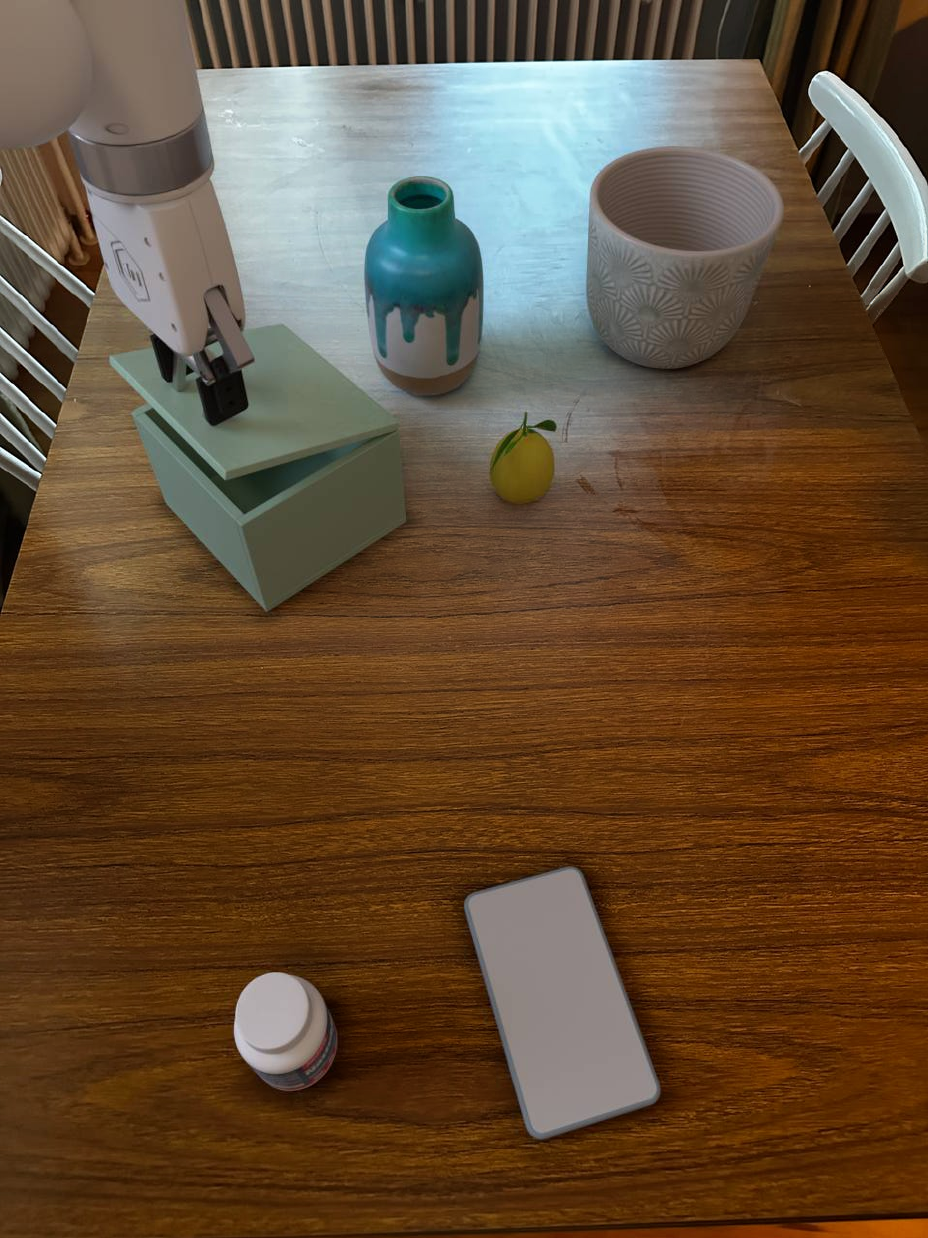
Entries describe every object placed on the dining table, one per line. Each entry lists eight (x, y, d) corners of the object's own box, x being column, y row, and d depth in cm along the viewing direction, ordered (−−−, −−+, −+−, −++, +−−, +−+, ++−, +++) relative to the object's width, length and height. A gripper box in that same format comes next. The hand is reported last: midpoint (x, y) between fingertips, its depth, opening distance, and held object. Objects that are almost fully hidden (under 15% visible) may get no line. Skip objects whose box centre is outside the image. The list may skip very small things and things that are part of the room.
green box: (266, 612, 77) (241, 525, 68) (165, 503, 84) (130, 411, 75) (406, 521, 82) (399, 430, 74) (301, 425, 89) (283, 331, 80)
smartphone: (579, 862, 64) (666, 1099, 56) (578, 867, 65) (663, 1102, 56) (460, 895, 63) (530, 1143, 54) (460, 900, 64) (529, 1145, 55)
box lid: (225, 481, 64) (230, 409, 60) (109, 364, 71) (107, 293, 67) (398, 430, 73) (412, 366, 70) (281, 331, 80) (288, 268, 76)
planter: (549, 303, 99) (561, 162, 87) (696, 272, 102) (729, 131, 90) (613, 410, 90) (637, 271, 78) (773, 373, 93) (821, 233, 81)
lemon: (487, 529, 82) (490, 445, 74) (476, 479, 85) (477, 394, 77) (563, 519, 83) (574, 435, 74) (549, 470, 86) (558, 385, 78)
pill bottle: (325, 1100, 57) (305, 1073, 49) (241, 1083, 57) (209, 1054, 50) (347, 1007, 60) (331, 969, 52) (267, 992, 60) (239, 953, 53)
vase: (382, 421, 89) (365, 238, 74) (365, 348, 95) (346, 164, 79) (492, 405, 91) (499, 222, 75) (469, 334, 96) (470, 150, 81)
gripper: (11, 106, 56) (99, 356, 71) (163, 235, 49) (226, 485, 63) (125, 68, 59) (187, 316, 74) (284, 185, 52) (318, 434, 66)
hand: (205, 392), depth 68 cm, fingers closed on box lid, 5 cm apart
